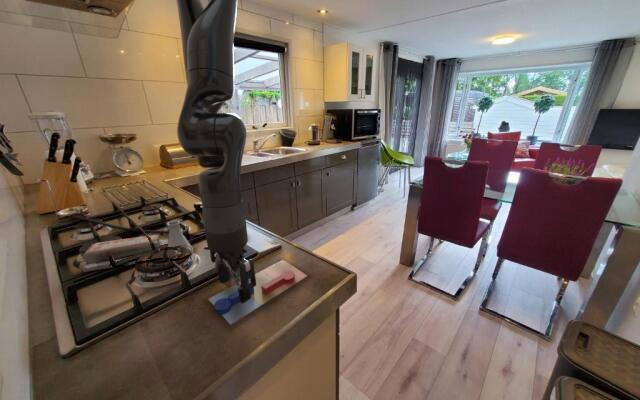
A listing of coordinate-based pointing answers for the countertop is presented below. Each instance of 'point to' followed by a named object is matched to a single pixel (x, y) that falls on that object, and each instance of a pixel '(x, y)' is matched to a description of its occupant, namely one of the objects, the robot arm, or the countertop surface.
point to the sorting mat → (258, 290)
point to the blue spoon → (228, 303)
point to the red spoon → (278, 282)
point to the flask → (176, 235)
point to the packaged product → (118, 251)
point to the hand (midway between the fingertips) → (234, 290)
